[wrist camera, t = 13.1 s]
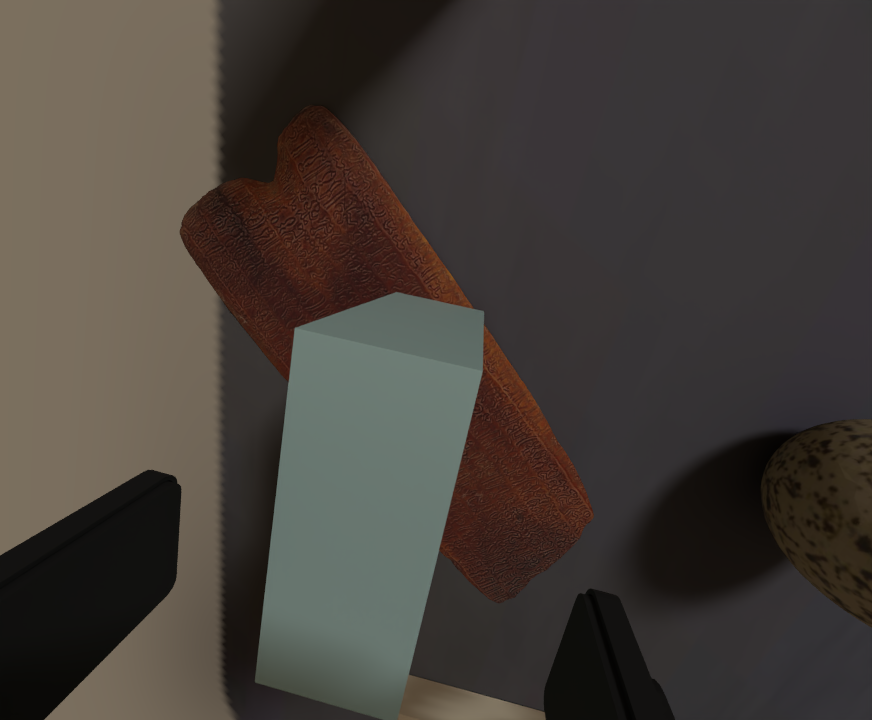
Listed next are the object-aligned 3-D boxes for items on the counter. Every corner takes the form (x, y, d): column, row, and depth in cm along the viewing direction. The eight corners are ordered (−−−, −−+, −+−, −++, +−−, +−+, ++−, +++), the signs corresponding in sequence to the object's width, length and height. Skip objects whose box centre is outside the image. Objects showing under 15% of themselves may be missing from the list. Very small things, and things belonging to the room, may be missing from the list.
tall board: (483, 311, 18) (482, 370, 8) (438, 504, 20) (396, 723, 11) (396, 292, 18) (294, 327, 8) (362, 485, 21) (254, 682, 11)
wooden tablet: (179, 232, 20) (153, 230, 19) (327, 93, 18) (312, 76, 16) (480, 615, 24) (480, 641, 22) (637, 539, 21) (650, 562, 20)
